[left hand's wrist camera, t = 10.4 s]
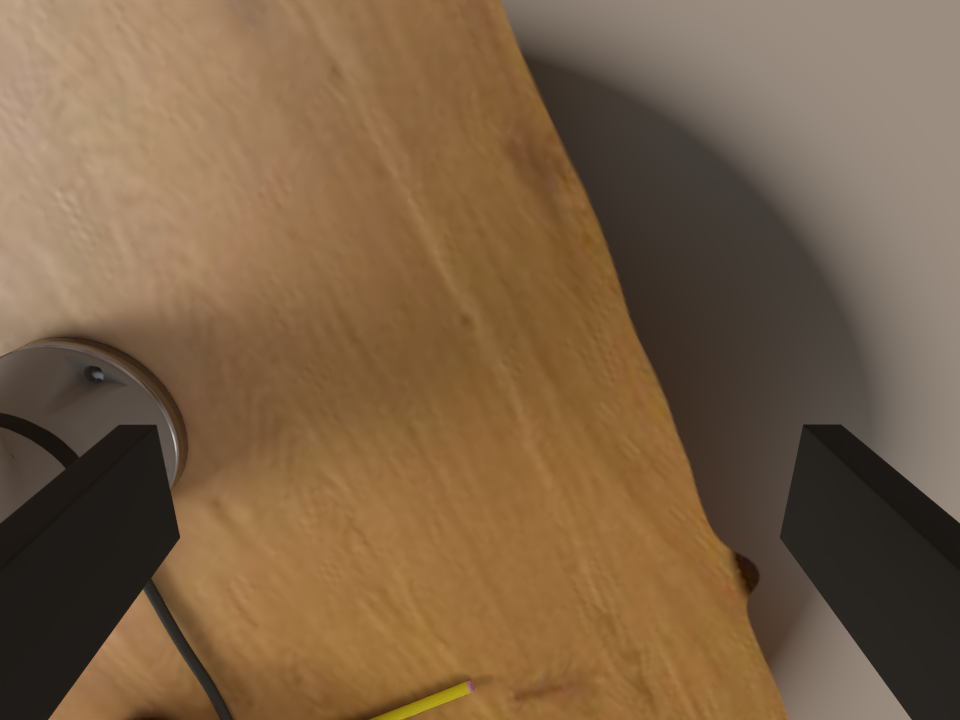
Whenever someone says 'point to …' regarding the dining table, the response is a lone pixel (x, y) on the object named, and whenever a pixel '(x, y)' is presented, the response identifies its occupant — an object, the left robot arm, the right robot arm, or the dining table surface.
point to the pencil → (428, 702)
